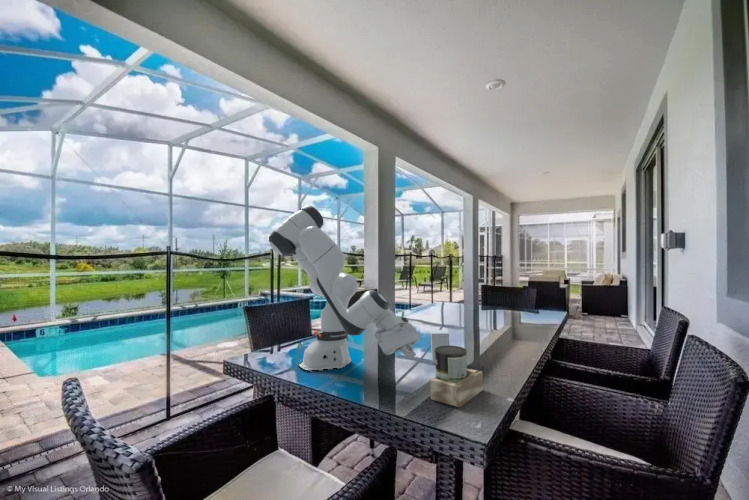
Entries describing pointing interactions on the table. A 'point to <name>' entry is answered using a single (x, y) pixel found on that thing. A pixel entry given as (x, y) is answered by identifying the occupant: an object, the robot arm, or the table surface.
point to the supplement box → (438, 340)
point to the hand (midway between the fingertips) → (412, 357)
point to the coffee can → (450, 363)
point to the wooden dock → (457, 389)
